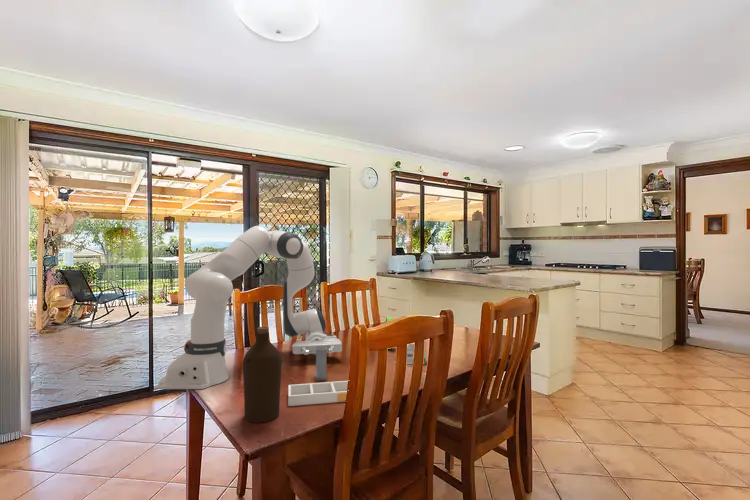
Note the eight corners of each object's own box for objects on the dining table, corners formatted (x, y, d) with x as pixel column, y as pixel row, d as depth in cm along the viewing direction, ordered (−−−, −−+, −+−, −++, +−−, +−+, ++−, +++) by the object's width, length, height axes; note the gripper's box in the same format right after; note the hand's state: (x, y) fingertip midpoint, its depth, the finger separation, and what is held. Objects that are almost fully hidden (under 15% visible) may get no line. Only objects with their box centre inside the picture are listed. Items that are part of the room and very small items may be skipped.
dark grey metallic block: (316, 380, 136) (316, 350, 135) (315, 376, 140) (315, 346, 140) (326, 380, 136) (326, 349, 136) (325, 375, 141) (325, 346, 141)
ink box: (424, 361, 160) (424, 333, 160) (425, 364, 155) (425, 336, 155) (404, 360, 160) (404, 333, 160) (405, 364, 156) (405, 335, 156)
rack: (288, 406, 113) (288, 396, 113) (288, 394, 123) (288, 384, 123) (357, 400, 118) (357, 391, 118) (352, 389, 128) (352, 380, 128)
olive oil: (275, 424, 102) (275, 332, 101) (236, 423, 102) (236, 331, 102) (285, 408, 112) (286, 324, 112) (250, 407, 113) (251, 323, 112)
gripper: (291, 337, 161) (292, 345, 148) (339, 335, 166) (343, 343, 152) (291, 352, 161) (291, 361, 148) (339, 349, 166) (343, 358, 152)
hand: (318, 352), depth 150 cm, fingers open, 8 cm apart
